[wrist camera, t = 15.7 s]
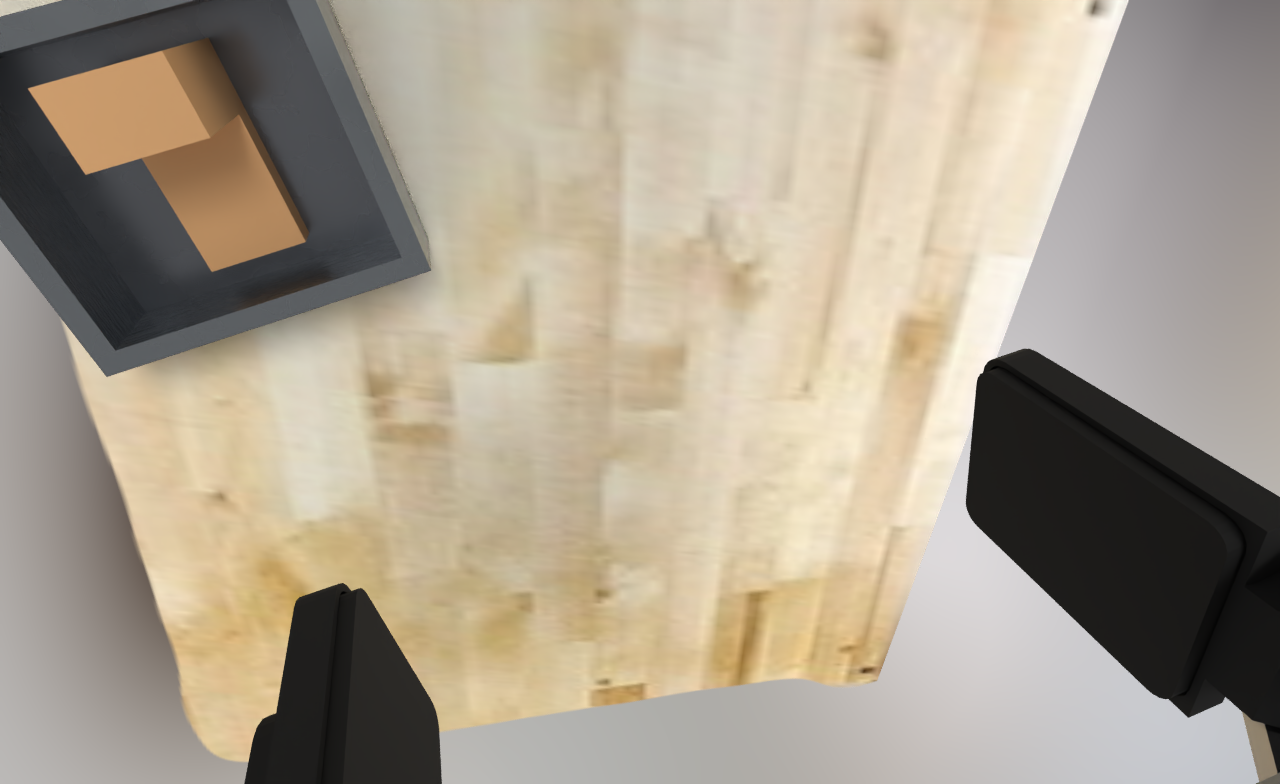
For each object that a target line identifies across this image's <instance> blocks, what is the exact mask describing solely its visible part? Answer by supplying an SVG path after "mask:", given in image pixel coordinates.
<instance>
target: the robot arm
mask: <svg viewBox="0 0 1280 784" xmlns="http://www.w3.org/2000/svg"><path fill="white" fill-rule="evenodd" d="M972 430H973V431H972V441H971V451H970V463H969V473H968V484H967V495H966V507H967V511H968V513H969V515H970V517H971V519H972V520H973V521H974V523H975V524H976V525H977V526H978V527H979V528H980V529H981V530H982V531H983V532H984V533H985V534H986V535H987V536H988V537H989V538H990V539H991V540H992V541H993V542H994V543H995V544H996V545H998V547H1000V548H1001V549H1002V550H1003V551H1004V552H1005V553H1006V554H1007V555H1008V556H1009V557H1010V558H1011V559H1012V560H1013V561H1014V562H1015V563H1016V564H1017V565H1018V566H1019V567H1020V568H1021V569H1022V570H1024V572H1026V573H1027V574H1028V575H1029V576H1030V577H1031V578H1032V579H1033V580H1034V581H1035V582H1036V583H1037V584H1038V585H1039V586H1040V587H1041V588H1042V589H1043V590H1044V591H1045V592H1046V593H1047V594H1049V596H1051V597H1052V598H1053V599H1054V600H1055V601H1056V602H1057V603H1058V604H1059V605H1060V606H1061V607H1062V608H1063V609H1064V610H1065V611H1066V612H1067V613H1068V614H1069V615H1070V616H1071V617H1072V618H1073V619H1074V620H1076V621H1077V622H1078V623H1079V624H1080V625H1081V626H1082V627H1083V628H1084V629H1085V630H1086V631H1087V632H1088V633H1089V634H1090V635H1091V636H1092V637H1093V638H1094V639H1095V640H1096V641H1097V642H1098V643H1099V644H1100V645H1102V646H1103V647H1104V648H1105V649H1106V650H1107V651H1108V652H1109V653H1110V654H1111V655H1112V656H1113V657H1114V658H1115V659H1116V660H1117V661H1118V662H1119V663H1120V664H1121V665H1122V666H1123V667H1124V668H1126V670H1128V671H1129V672H1130V673H1131V674H1132V675H1133V676H1134V677H1135V678H1136V679H1137V680H1138V681H1139V682H1140V683H1141V684H1142V685H1143V686H1144V687H1145V688H1146V689H1147V690H1149V691H1150V692H1151V693H1152V694H1154V695H1156V696H1158V697H1159V698H1163V699H1169V700H1170V701H1171V702H1172V703H1173V704H1174V705H1175V706H1177V707H1178V708H1179V709H1180V710H1181V711H1182V712H1183V713H1184V714H1185V715H1186V716H1187V717H1191V716H1193V715H1196V714H1198V713H1200V712H1202V711H1204V710H1207V709H1209V708H1211V707H1213V706H1216V705H1218V704H1220V703H1222V702H1223V700H1224V698H1225V697H1226V698H1227V699H1229V700H1230V701H1231V702H1232V703H1233V704H1234V705H1235V706H1236V707H1238V708H1239V709H1240V710H1241V711H1242V712H1243V717H1244V721H1245V725H1246V729H1247V733H1248V737H1249V741H1250V745H1251V750H1252V753H1253V758H1254V762H1255V766H1256V770H1257V774H1258V778H1259V783H1256V784H1280V497H1279V496H1277V495H1276V494H1274V493H1272V492H1271V491H1269V490H1267V489H1265V488H1264V487H1262V486H1260V485H1259V484H1257V483H1255V482H1254V481H1252V480H1250V479H1249V478H1247V477H1245V476H1244V475H1242V474H1240V473H1239V472H1237V471H1235V470H1234V469H1232V468H1230V467H1229V466H1227V465H1225V464H1223V463H1222V462H1220V461H1219V460H1217V459H1215V458H1213V457H1212V456H1210V455H1209V454H1207V453H1205V452H1204V451H1202V450H1200V449H1199V448H1197V447H1195V446H1193V445H1192V444H1190V443H1188V442H1187V441H1185V440H1183V439H1182V438H1180V437H1178V436H1177V435H1175V434H1173V433H1172V432H1170V431H1168V430H1167V429H1165V428H1163V427H1161V426H1160V425H1158V424H1157V423H1155V422H1153V421H1152V420H1150V419H1148V418H1147V417H1145V416H1143V415H1142V414H1140V413H1138V412H1137V411H1135V410H1133V409H1132V408H1130V407H1128V406H1127V405H1125V404H1123V403H1121V402H1120V401H1118V400H1116V399H1115V398H1113V397H1111V396H1110V395H1108V394H1106V393H1105V392H1103V391H1101V390H1100V389H1098V388H1096V387H1095V386H1093V385H1091V384H1090V383H1088V382H1086V381H1085V380H1083V379H1081V378H1080V377H1078V376H1076V375H1075V374H1073V373H1071V372H1070V371H1068V370H1066V369H1065V368H1063V367H1061V366H1059V365H1058V364H1056V363H1054V362H1053V361H1051V360H1050V359H1048V358H1046V357H1044V356H1043V355H1041V354H1039V353H1038V352H1036V351H1034V350H1031V349H1022V350H1018V351H1016V352H1013V353H1010V354H1007V355H1004V356H1001V357H998V358H995V359H992V360H990V361H988V363H987V364H986V365H985V367H984V371H983V373H982V374H980V376H979V377H978V380H977V386H976V397H975V408H974V419H973V429H972ZM245 784H442V779H441V759H440V739H439V724H438V719H437V714H436V711H435V708H434V705H433V703H432V701H431V699H430V697H429V696H428V694H427V692H426V691H425V689H424V687H423V686H422V684H421V683H420V681H419V679H418V678H417V676H416V674H415V673H414V671H413V669H412V668H411V666H410V664H409V663H408V661H407V659H406V658H405V656H404V654H403V653H402V651H401V649H400V648H399V646H398V644H397V643H396V641H395V639H394V638H393V636H392V635H391V633H390V631H389V630H388V628H387V626H386V625H385V623H384V621H383V620H382V618H381V616H380V615H379V613H378V611H377V610H376V608H375V606H374V605H373V603H372V601H371V600H370V598H369V596H368V595H367V593H366V592H365V591H364V590H363V589H362V588H359V589H356V590H353V591H351V590H350V589H349V588H348V586H347V585H345V584H344V583H341V584H337V585H334V586H331V587H328V588H326V589H323V590H320V591H317V592H314V593H311V594H308V595H305V596H302V597H299V598H298V600H297V601H296V603H295V606H294V611H293V617H292V623H291V629H290V635H289V641H288V647H287V653H286V659H285V665H284V671H283V677H282V682H281V688H280V694H279V700H278V706H277V712H276V714H273V715H270V716H268V717H266V718H264V719H262V721H261V722H260V724H259V725H258V727H257V729H256V732H255V735H254V738H253V742H252V747H251V752H250V758H249V763H248V768H247V773H246V779H245Z"/></svg>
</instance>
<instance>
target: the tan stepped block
mask: <svg viewBox="0 0 1280 784" xmlns="http://www.w3.org/2000/svg"><path fill="white" fill-rule="evenodd" d="M28 90H29V91H30V93H31V94H32V96H33V97H34V99H35V100H36V102H37V103H38V105H39V106H40V108H41V109H42V111H43V112H44V114H45V115H46V117H47V118H48V120H49V121H50V123H51V124H52V125H53V127H54V128H55V130H56V131H57V133H58V134H59V136H60V137H61V139H62V140H63V142H64V143H65V145H66V146H67V148H68V149H69V151H70V152H71V154H72V155H73V157H74V158H75V160H76V161H77V163H78V164H79V166H80V167H81V169H82V170H83V172H84V173H85V175H86V174H90V173H93V172H97V171H100V170H103V169H107V168H110V167H113V166H117V165H120V164H124V163H127V162H130V161H134V160H137V159H140V158H142V160H143V161H144V163H145V165H146V166H147V168H148V170H149V171H150V173H151V174H152V176H153V178H154V179H155V181H156V182H157V184H158V186H159V187H160V189H161V191H162V192H163V194H164V195H165V197H166V199H167V200H168V202H169V203H170V205H171V207H172V208H173V210H174V212H175V213H176V215H177V216H178V218H179V220H180V221H181V223H182V224H183V226H184V228H185V229H186V231H187V233H188V234H189V236H190V237H191V239H192V241H193V242H194V244H195V246H196V247H197V249H198V250H199V252H200V254H201V255H202V257H203V258H204V260H205V262H206V263H207V265H208V267H209V268H210V270H211V271H212V272H213V271H217V270H220V269H223V268H226V267H229V266H232V265H235V264H239V263H242V262H245V261H248V260H251V259H254V258H257V257H261V256H264V255H267V254H270V253H273V252H276V251H279V250H282V249H286V248H289V247H292V246H295V245H298V244H301V243H304V242H306V240H307V238H308V235H309V231H308V229H307V227H306V226H305V224H304V222H303V220H302V218H301V216H300V214H299V212H298V210H297V208H296V206H295V204H294V202H293V200H292V198H291V197H290V195H289V193H288V191H287V189H286V187H285V185H284V183H283V181H282V179H281V177H280V175H279V173H278V171H277V169H276V168H275V166H274V164H273V162H272V160H271V158H270V156H269V154H268V152H267V150H266V148H265V146H264V144H263V142H262V141H261V139H260V137H259V135H258V133H257V131H256V129H255V127H254V125H253V123H252V121H251V119H250V117H249V115H248V113H247V112H246V110H245V108H244V106H243V104H242V102H241V100H240V98H239V96H238V94H237V92H236V90H235V88H234V86H233V84H232V83H231V81H230V79H229V77H228V75H227V73H226V71H225V69H224V67H223V65H222V63H221V61H220V59H219V57H218V55H217V54H216V52H215V50H214V48H213V46H212V44H211V42H210V40H209V38H205V39H201V40H198V41H194V42H191V43H187V44H184V45H180V46H176V47H173V48H169V49H166V50H162V51H159V52H155V53H151V54H148V55H144V56H141V57H137V58H134V59H130V60H126V61H123V62H119V63H116V64H112V65H109V66H105V67H101V68H98V69H94V70H91V71H87V72H84V73H80V74H77V75H73V76H70V77H66V78H63V79H59V80H56V81H52V82H49V83H45V84H42V85H38V86H35V87H31V88H28Z"/></svg>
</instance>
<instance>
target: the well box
mask: <svg viewBox="0 0 1280 784" xmlns="http://www.w3.org/2000/svg"><path fill="white" fill-rule="evenodd" d="M205 38H209V40H210V42H211V44H212V46H213V48H214V50H215V52H216V54H217V55H218V57H219V59H220V61H221V63H222V65H223V67H224V69H225V71H226V73H227V75H228V77H229V79H230V81H231V83H232V84H233V86H234V88H235V90H236V92H237V94H238V96H239V98H240V100H241V102H242V104H243V106H244V108H245V110H246V112H247V113H248V115H249V117H250V119H251V121H252V123H253V125H254V127H255V129H256V131H257V133H258V135H259V137H260V139H261V141H262V142H263V144H264V146H265V148H266V150H267V152H268V154H269V156H270V158H271V160H272V162H273V164H274V166H275V168H276V169H277V171H278V173H279V175H280V177H281V179H282V181H283V183H284V185H285V187H286V189H287V191H288V193H289V195H290V197H291V198H292V200H293V202H294V204H295V206H296V208H297V210H298V212H299V214H300V216H301V218H302V220H303V222H304V224H305V226H306V227H307V229H308V231H309V235H308V238H307V240H306V242H304V243H301V244H298V245H295V246H292V247H289V248H286V249H282V250H279V251H276V252H273V253H270V254H267V255H264V256H261V257H257V258H254V259H251V260H248V261H245V262H242V263H239V264H235V265H232V266H229V267H226V268H223V269H220V270H217V271H213V272H212V271H211V270H210V268H209V267H208V265H207V263H206V262H205V260H204V258H203V257H202V255H201V254H200V252H199V250H198V249H197V247H196V246H195V244H194V242H193V241H192V239H191V237H190V236H189V234H188V233H187V231H186V229H185V228H184V226H183V224H182V223H181V221H180V220H179V218H178V216H177V215H176V213H175V212H174V210H173V208H172V207H171V205H170V203H169V202H168V200H167V199H166V197H165V195H164V194H163V192H162V191H161V189H160V187H159V186H158V184H157V182H156V181H155V179H154V178H153V176H152V174H151V173H150V171H149V170H148V168H147V166H146V165H145V163H144V161H143V160H142V158H140V159H137V160H134V161H130V162H127V163H124V164H120V165H117V166H113V167H110V168H107V169H103V170H100V171H97V172H93V173H90V174H86V175H85V173H84V172H83V170H82V169H81V167H80V166H79V164H78V163H77V161H76V160H75V158H74V157H73V155H72V154H71V152H70V151H69V149H68V148H67V146H66V145H65V143H64V142H63V140H62V139H61V137H60V136H59V134H58V133H57V131H56V130H55V128H54V127H53V125H52V124H51V123H50V121H49V120H48V118H47V117H46V115H45V114H44V112H43V111H42V109H41V108H40V106H39V105H38V103H37V102H36V100H35V99H34V97H33V96H32V94H31V93H30V91H29V90H28V88H31V87H35V86H38V85H42V84H45V83H49V82H52V81H56V80H59V79H63V78H66V77H70V76H73V75H77V74H80V73H84V72H87V71H91V70H94V69H98V68H101V67H105V66H109V65H112V64H116V63H119V62H123V61H126V60H130V59H134V58H137V57H141V56H144V55H148V54H151V53H155V52H159V51H162V50H166V49H169V48H173V47H176V46H180V45H184V44H187V43H191V42H194V41H198V40H201V39H205ZM0 240H1V241H2V242H3V244H4V245H5V246H6V248H7V249H8V250H9V252H10V253H11V254H12V255H13V257H14V258H15V259H16V260H17V262H18V263H19V264H20V266H21V267H22V268H23V269H24V271H25V272H26V273H27V275H28V276H29V277H30V279H31V280H32V281H33V282H34V284H35V285H36V286H37V287H38V289H39V290H40V291H41V293H42V294H43V295H44V296H45V298H46V299H47V301H48V302H49V303H50V304H51V306H52V307H53V308H54V310H55V311H56V312H57V313H58V315H59V316H60V317H61V319H62V320H63V321H64V322H65V324H66V325H67V326H68V328H69V329H70V330H71V331H72V333H73V334H74V335H75V337H76V338H77V339H78V340H79V342H80V343H81V344H82V346H83V347H84V348H85V349H86V351H87V352H88V353H89V355H90V356H91V357H92V359H93V360H94V361H95V362H96V364H97V365H98V366H99V368H100V369H101V370H102V371H103V373H104V374H105V375H106V377H108V376H111V375H114V374H117V373H120V372H123V371H126V370H129V369H132V368H135V367H138V366H141V365H144V364H148V363H151V362H154V361H157V360H160V359H163V358H166V357H169V356H172V355H175V354H178V353H181V352H184V351H187V350H190V349H193V348H196V347H199V346H202V345H205V344H208V343H212V342H215V341H218V340H221V339H224V338H227V337H230V336H233V335H236V334H239V333H242V332H245V331H248V330H251V329H254V328H257V327H260V326H263V325H266V324H269V323H273V322H276V321H279V320H282V319H285V318H288V317H291V316H294V315H297V314H300V313H303V312H306V311H309V310H312V309H315V308H318V307H321V306H324V305H327V304H330V303H334V302H337V301H340V300H343V299H346V298H349V297H352V296H355V295H358V294H361V293H364V292H367V291H370V290H373V289H376V288H379V287H382V286H385V285H388V284H391V283H395V282H398V281H401V280H404V279H407V278H410V277H413V276H416V275H419V274H422V273H425V272H428V271H431V264H430V253H429V243H428V237H427V235H426V232H425V230H424V228H423V225H422V223H421V221H420V218H419V216H418V213H417V211H416V209H415V206H414V204H413V201H412V199H411V197H410V194H409V192H408V189H407V187H406V185H405V182H404V180H403V177H402V175H401V173H400V170H399V168H398V166H397V163H396V161H395V158H394V156H393V154H392V151H391V149H390V146H389V144H388V142H387V139H386V137H385V134H384V132H383V130H382V127H381V125H380V122H379V120H378V118H377V115H376V113H375V111H374V108H373V106H372V103H371V101H370V99H369V96H368V94H367V91H366V89H365V87H364V84H363V82H362V79H361V77H360V75H359V72H358V70H357V68H356V65H355V63H354V60H353V58H352V56H351V53H350V51H349V48H348V46H347V44H346V41H345V39H344V36H343V34H342V32H341V29H340V27H339V24H338V22H337V20H336V17H335V15H334V13H333V10H332V8H331V5H330V3H329V1H328V0H62V1H58V2H54V3H50V4H47V5H43V6H39V7H35V8H32V9H28V10H24V11H20V12H16V13H13V14H9V15H5V16H1V17H0Z"/></svg>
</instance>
